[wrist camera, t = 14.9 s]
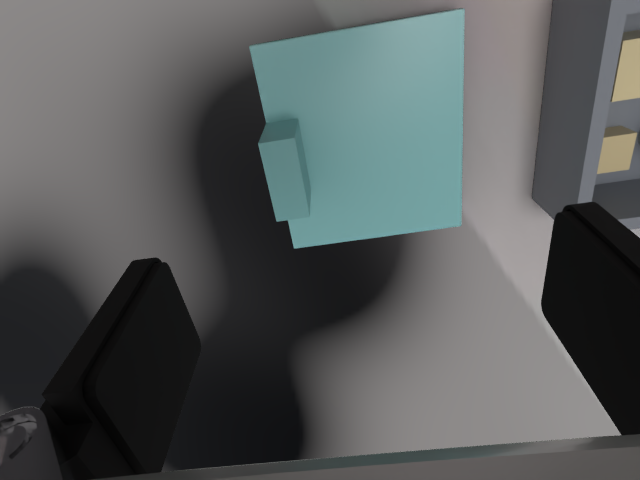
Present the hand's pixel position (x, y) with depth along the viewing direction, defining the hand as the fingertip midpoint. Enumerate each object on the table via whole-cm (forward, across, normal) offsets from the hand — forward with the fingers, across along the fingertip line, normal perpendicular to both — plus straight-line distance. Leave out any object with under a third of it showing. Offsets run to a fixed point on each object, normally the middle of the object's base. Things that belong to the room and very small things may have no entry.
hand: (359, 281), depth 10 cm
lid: (+27, -2, +5) cm, 27 cm away
